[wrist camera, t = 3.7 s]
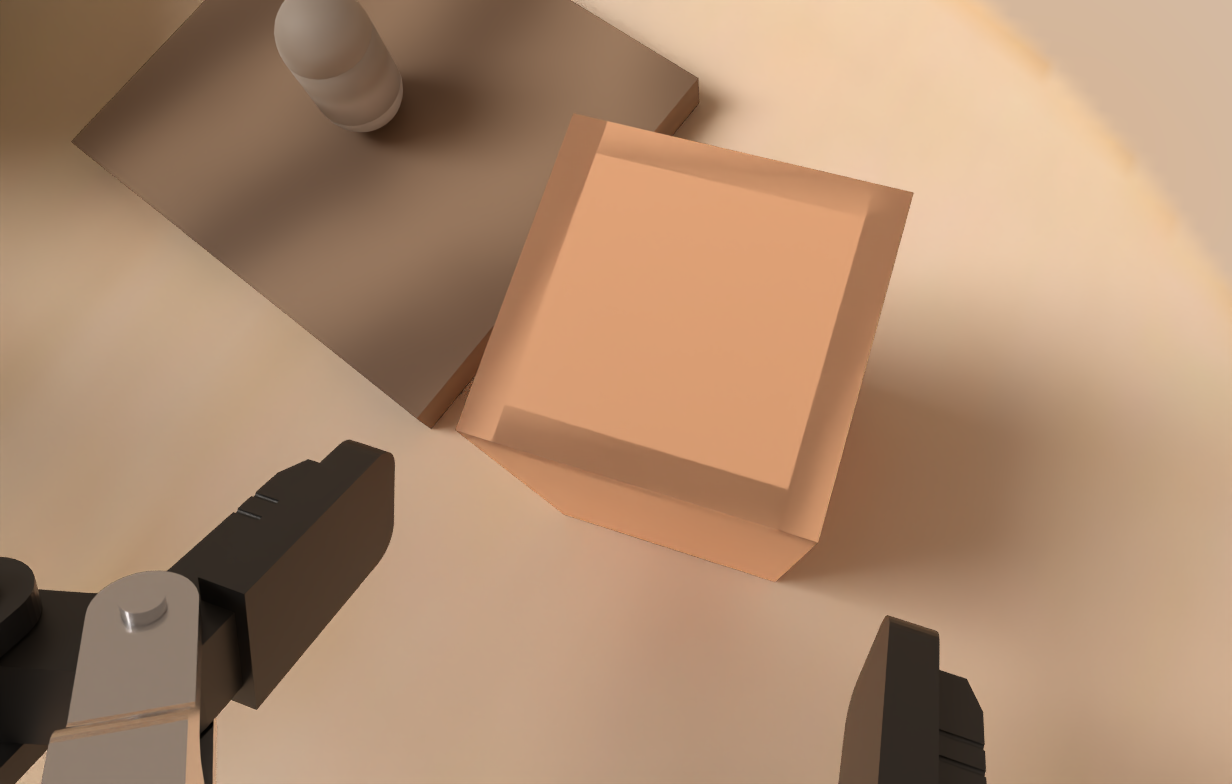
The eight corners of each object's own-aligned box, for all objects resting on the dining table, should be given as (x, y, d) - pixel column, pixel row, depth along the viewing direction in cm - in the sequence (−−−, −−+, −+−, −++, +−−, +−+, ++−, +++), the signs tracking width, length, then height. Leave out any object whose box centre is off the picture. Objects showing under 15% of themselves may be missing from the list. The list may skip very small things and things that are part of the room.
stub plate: (98, 162, 28) (-55, 46, 22) (353, -111, 29) (270, -282, 24) (430, 428, 24) (347, 369, 19) (699, 103, 26) (693, -40, 20)
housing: (563, 514, 23) (455, 430, 14) (630, 317, 24) (573, 112, 15) (775, 582, 22) (818, 542, 13) (833, 373, 23) (914, 192, 14)
